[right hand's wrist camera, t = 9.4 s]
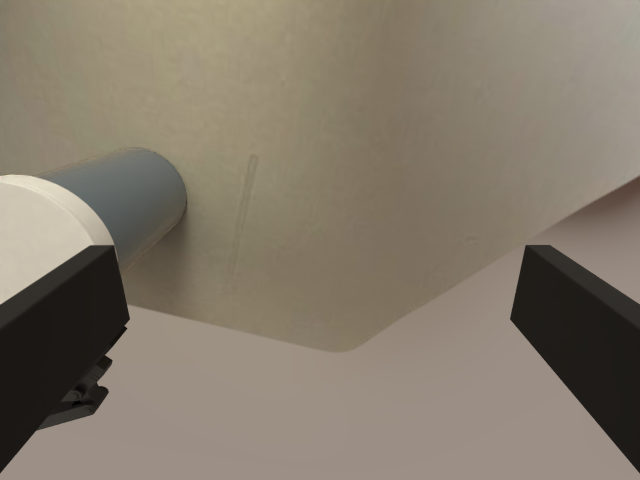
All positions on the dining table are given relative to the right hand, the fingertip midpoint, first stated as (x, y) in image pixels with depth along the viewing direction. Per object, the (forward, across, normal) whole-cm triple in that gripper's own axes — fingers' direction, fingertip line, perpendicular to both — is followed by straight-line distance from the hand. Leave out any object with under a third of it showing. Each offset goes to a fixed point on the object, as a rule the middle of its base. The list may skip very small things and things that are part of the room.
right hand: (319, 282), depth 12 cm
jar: (+23, +16, +3) cm, 29 cm away
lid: (+8, +17, +3) cm, 19 cm away
